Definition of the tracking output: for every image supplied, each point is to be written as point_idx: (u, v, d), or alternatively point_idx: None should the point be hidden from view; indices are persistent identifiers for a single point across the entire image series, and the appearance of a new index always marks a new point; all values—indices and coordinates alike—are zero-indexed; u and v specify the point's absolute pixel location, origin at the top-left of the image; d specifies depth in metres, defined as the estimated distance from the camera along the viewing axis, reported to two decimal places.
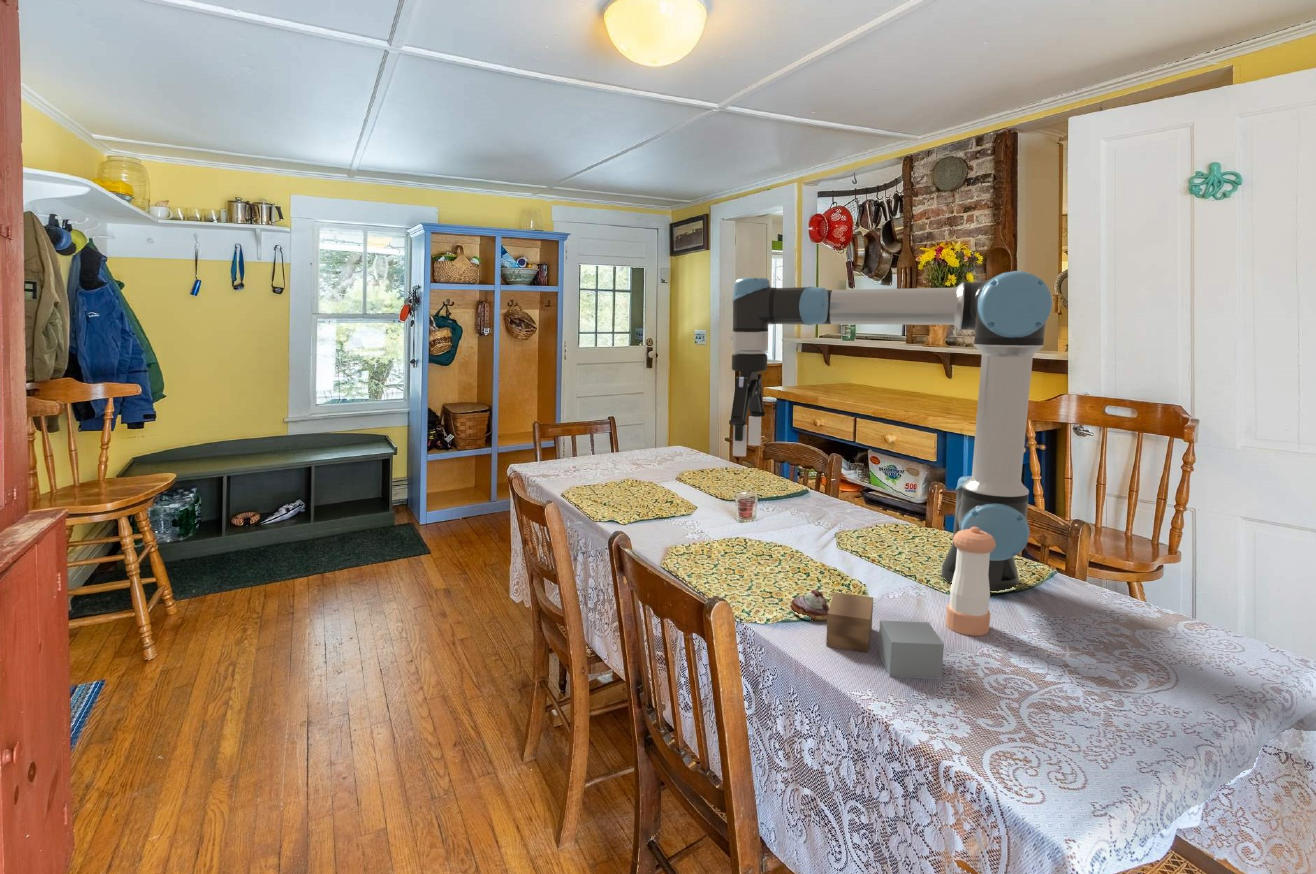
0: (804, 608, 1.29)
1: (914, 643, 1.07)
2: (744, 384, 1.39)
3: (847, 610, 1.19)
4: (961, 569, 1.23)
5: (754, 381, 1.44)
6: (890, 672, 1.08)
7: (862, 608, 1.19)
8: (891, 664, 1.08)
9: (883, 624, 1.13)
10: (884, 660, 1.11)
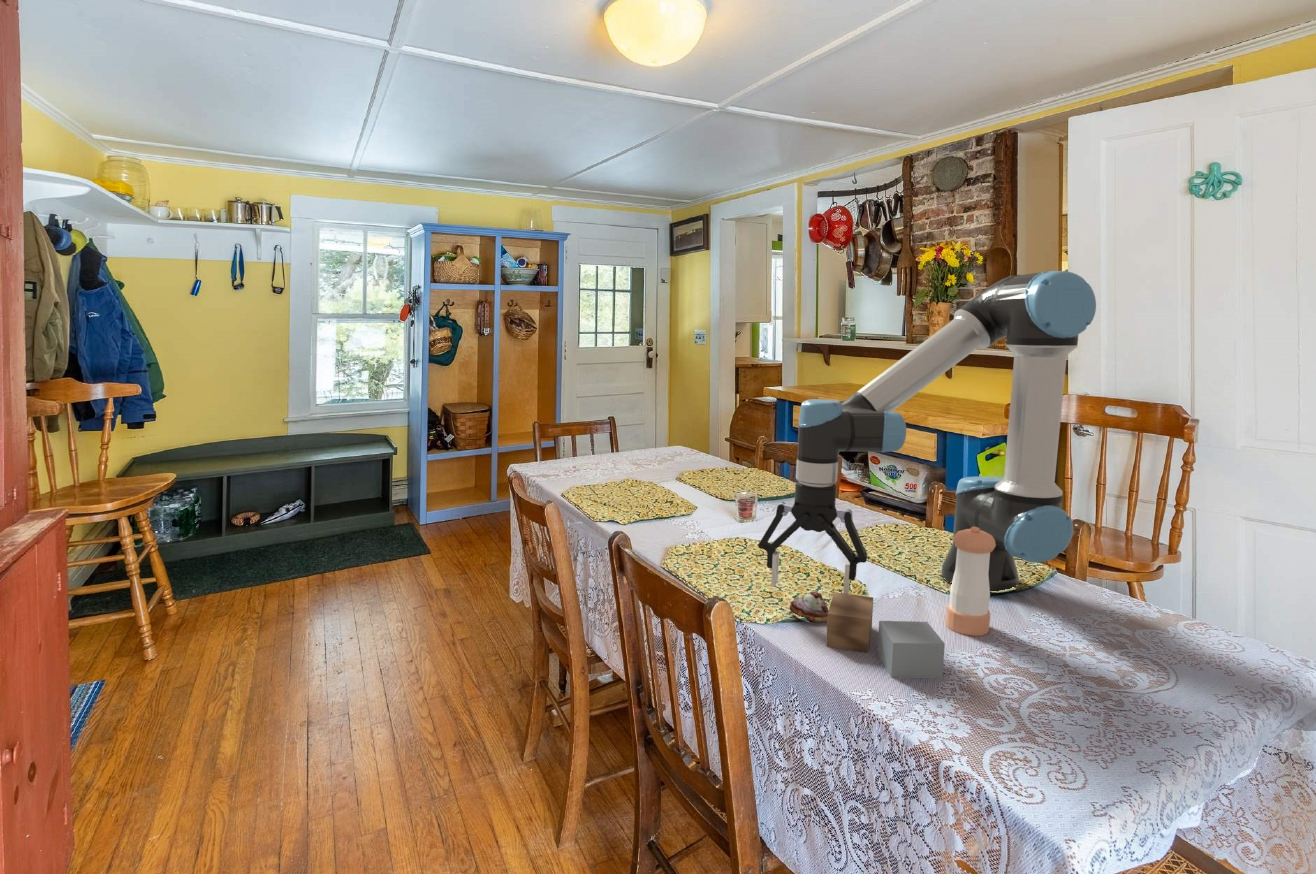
0: (803, 609, 1.28)
1: (915, 643, 1.07)
2: None
3: (847, 610, 1.19)
4: (961, 569, 1.23)
5: (804, 514, 1.28)
6: (891, 673, 1.08)
7: (862, 608, 1.19)
8: (893, 664, 1.08)
9: (883, 624, 1.13)
10: (884, 661, 1.11)
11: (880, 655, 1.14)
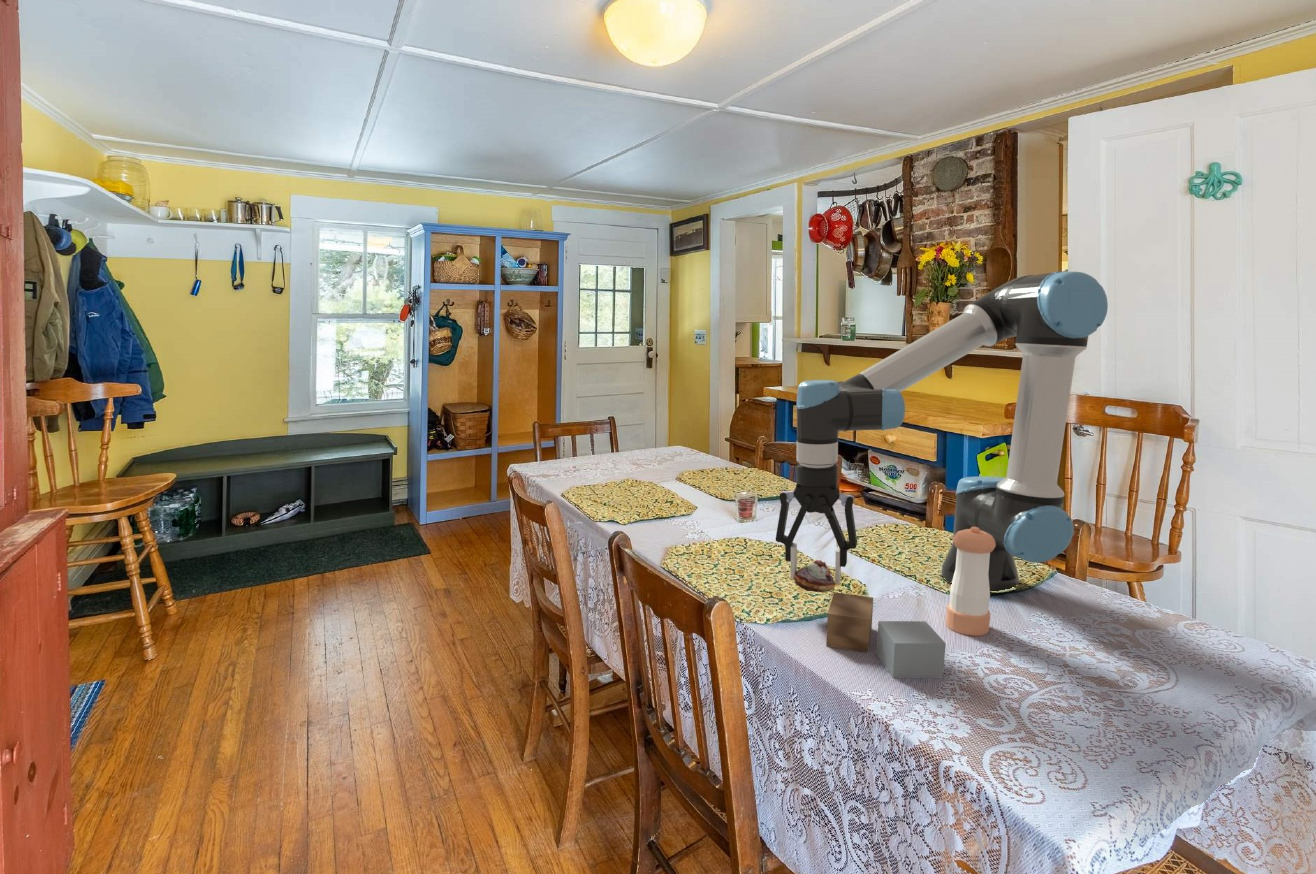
0: (807, 578, 1.26)
1: (916, 643, 1.07)
2: None
3: (847, 610, 1.19)
4: (961, 569, 1.23)
5: (805, 496, 1.27)
6: (893, 673, 1.08)
7: (862, 608, 1.19)
8: (894, 665, 1.07)
9: (882, 625, 1.13)
10: (885, 661, 1.11)
11: (880, 655, 1.14)
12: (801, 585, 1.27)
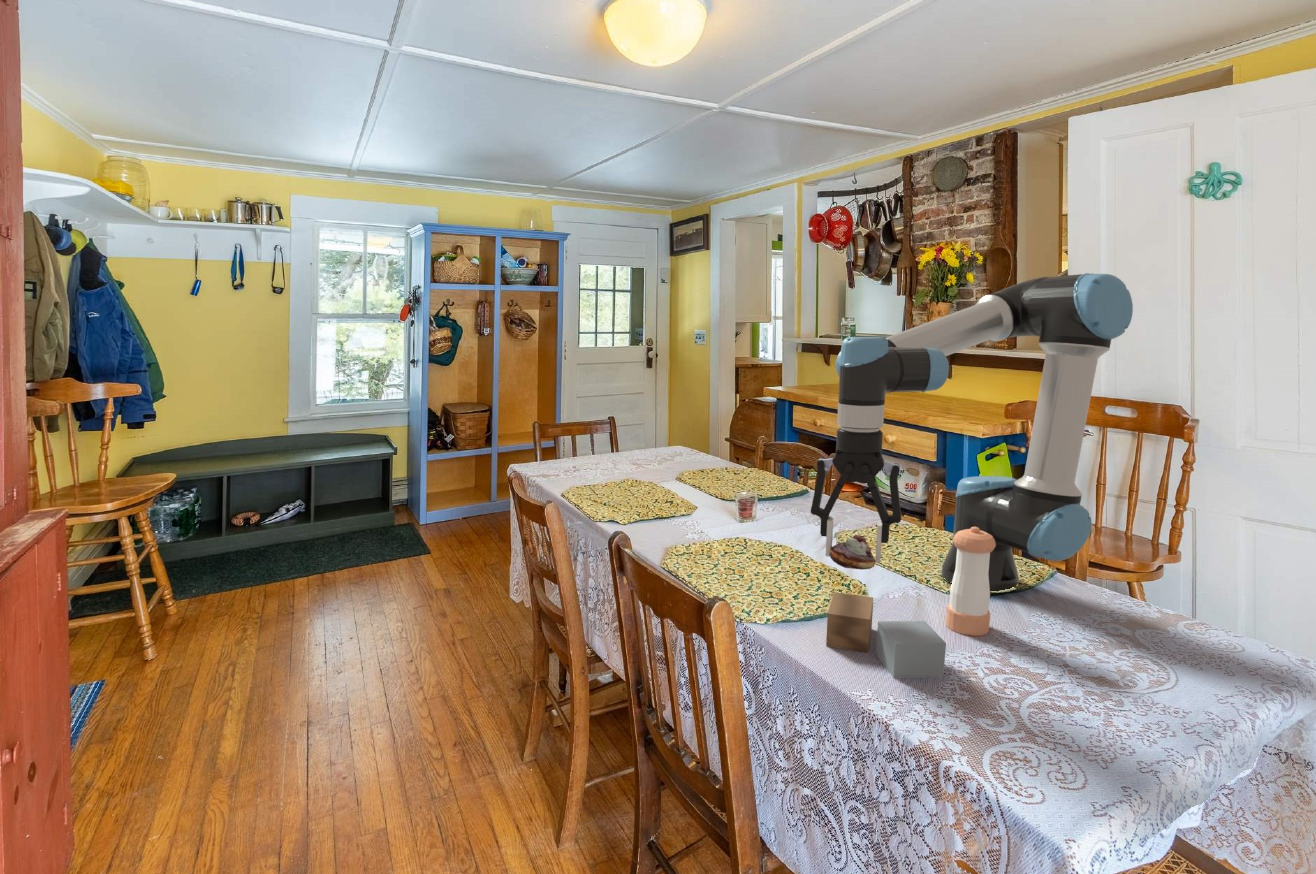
0: (846, 554, 1.15)
1: (917, 643, 1.07)
2: (818, 468, 1.18)
3: (847, 610, 1.19)
4: (961, 569, 1.23)
5: (846, 464, 1.16)
6: (894, 673, 1.08)
7: (862, 608, 1.19)
8: (895, 665, 1.07)
9: (882, 625, 1.13)
10: (885, 661, 1.11)
11: (880, 656, 1.14)
12: (838, 561, 1.16)
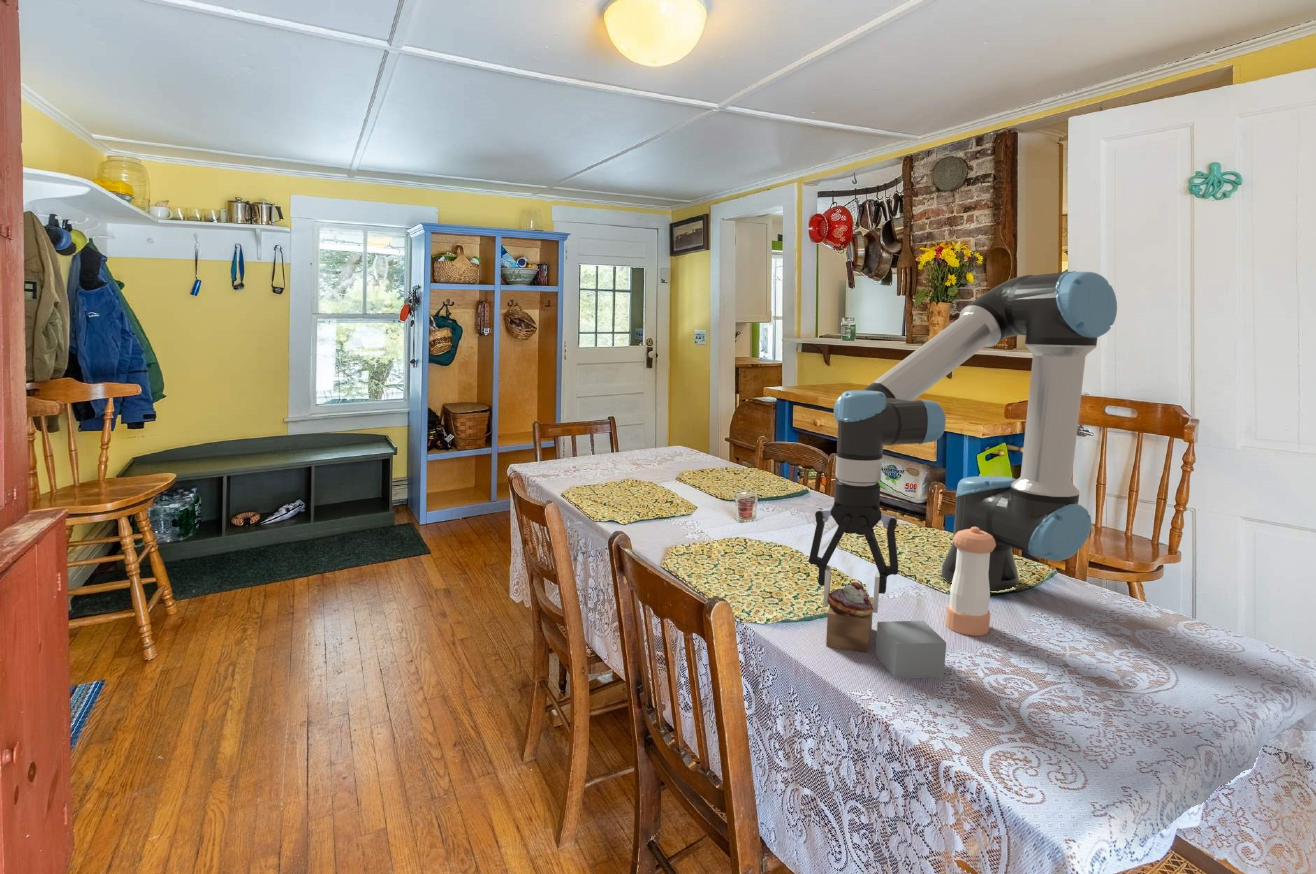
0: (844, 602, 1.16)
1: (918, 643, 1.07)
2: (816, 519, 1.20)
3: None
4: (961, 569, 1.23)
5: (844, 516, 1.17)
6: (895, 674, 1.07)
7: None
8: (896, 666, 1.07)
9: (882, 625, 1.13)
10: (886, 662, 1.11)
11: (879, 656, 1.13)
12: (836, 609, 1.17)
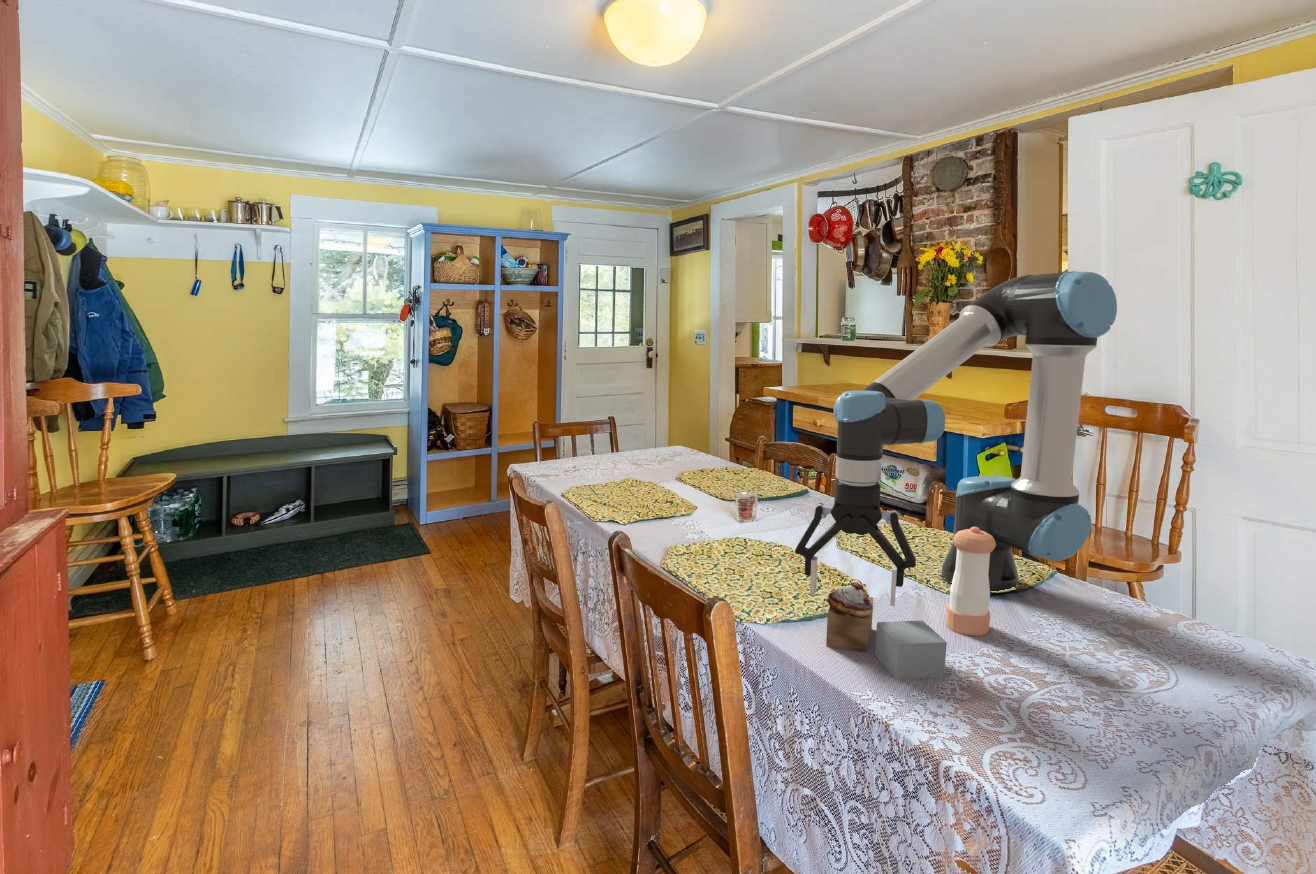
0: (844, 602, 1.16)
1: (918, 643, 1.07)
2: (815, 513, 1.20)
3: None
4: (961, 569, 1.23)
5: (845, 516, 1.17)
6: (896, 674, 1.07)
7: None
8: (897, 666, 1.07)
9: (882, 626, 1.13)
10: (886, 662, 1.11)
11: (879, 657, 1.13)
12: (836, 609, 1.17)
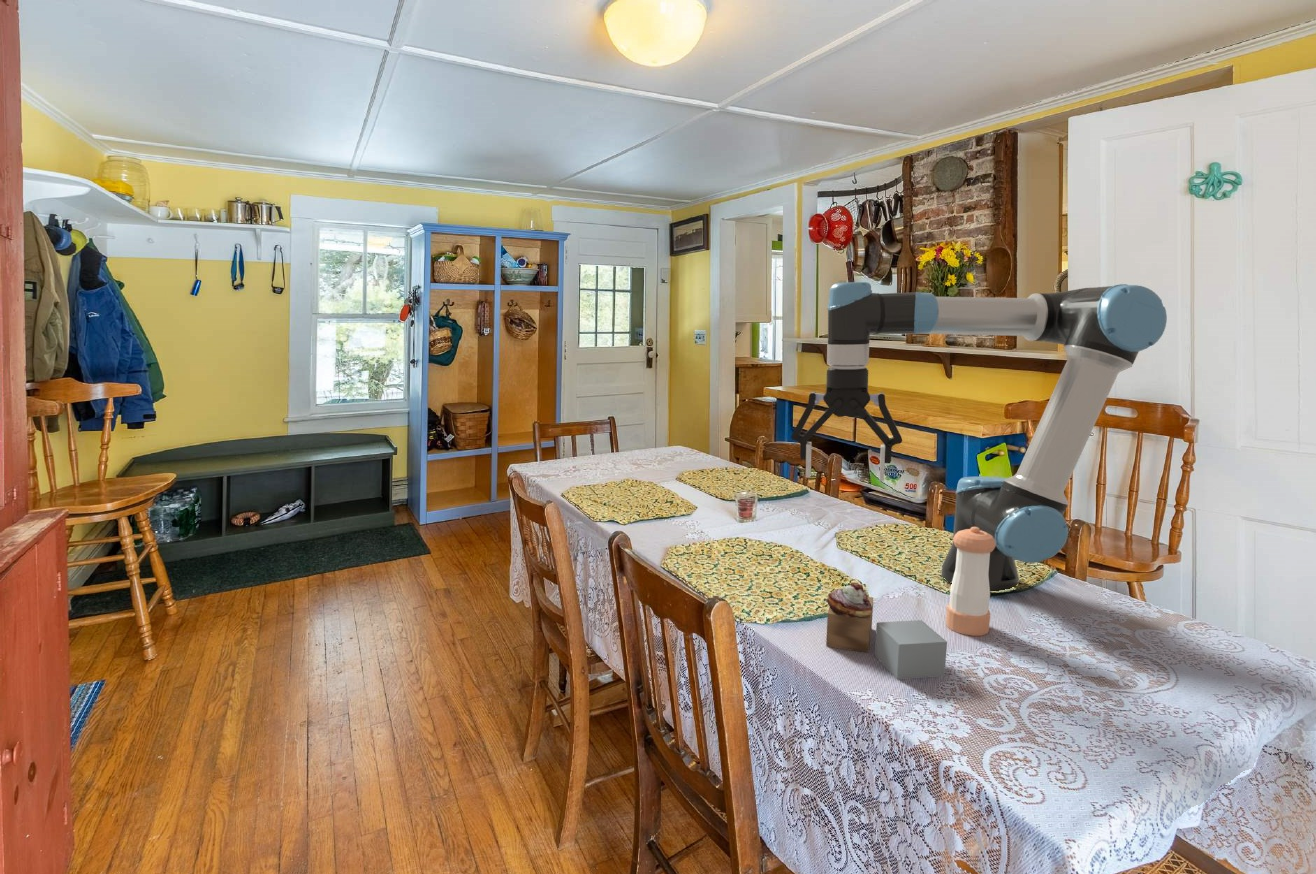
0: (843, 602, 1.16)
1: (919, 643, 1.07)
2: None
3: None
4: (961, 569, 1.23)
5: (837, 399, 1.27)
6: (897, 675, 1.07)
7: None
8: (899, 666, 1.07)
9: (882, 626, 1.13)
10: (886, 663, 1.11)
11: (879, 657, 1.13)
12: (836, 609, 1.17)
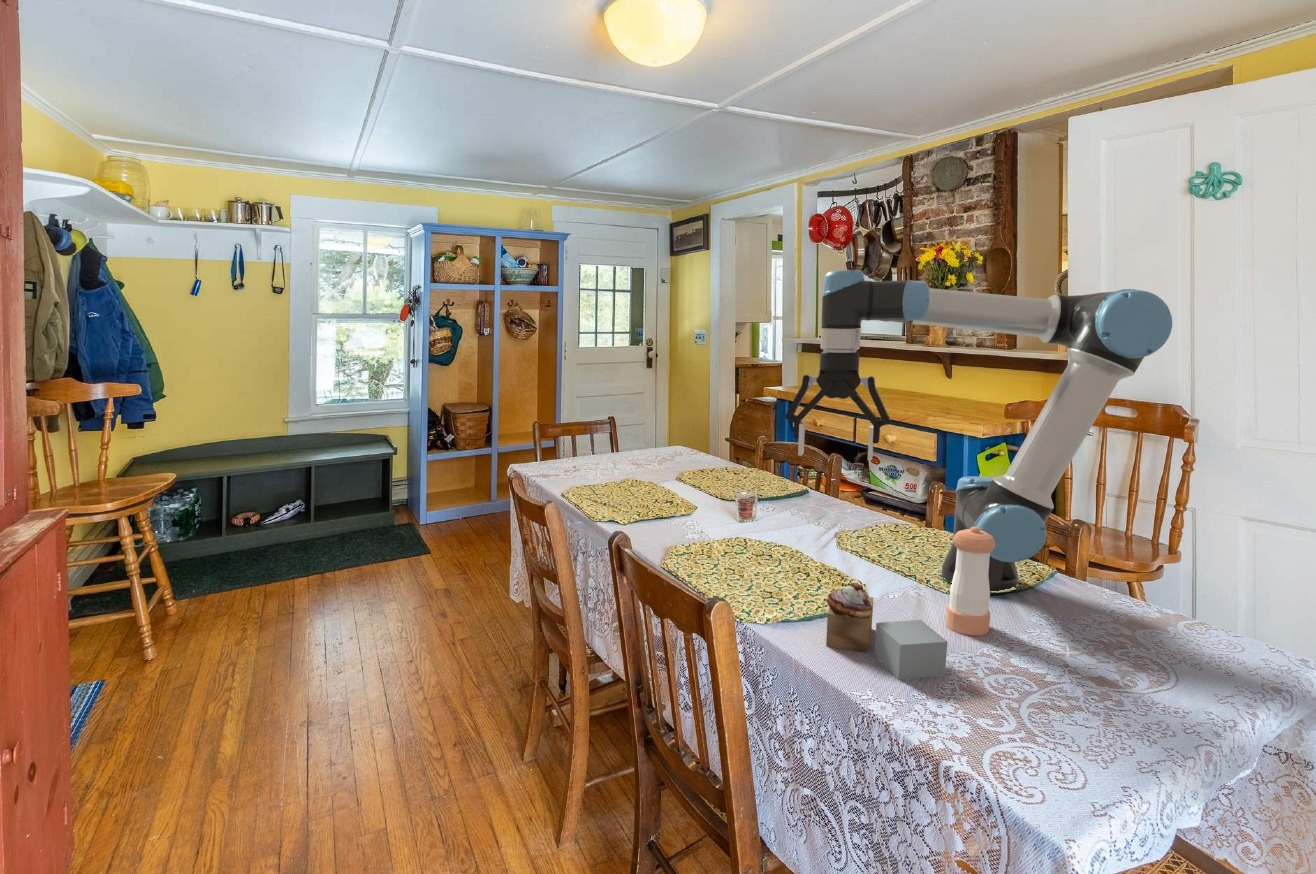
0: (843, 602, 1.16)
1: (920, 643, 1.07)
2: None
3: None
4: (961, 569, 1.23)
5: (829, 381, 1.34)
6: (898, 675, 1.07)
7: None
8: (900, 667, 1.07)
9: (882, 626, 1.12)
10: (887, 663, 1.11)
11: (879, 657, 1.13)
12: (836, 610, 1.17)
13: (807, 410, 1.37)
